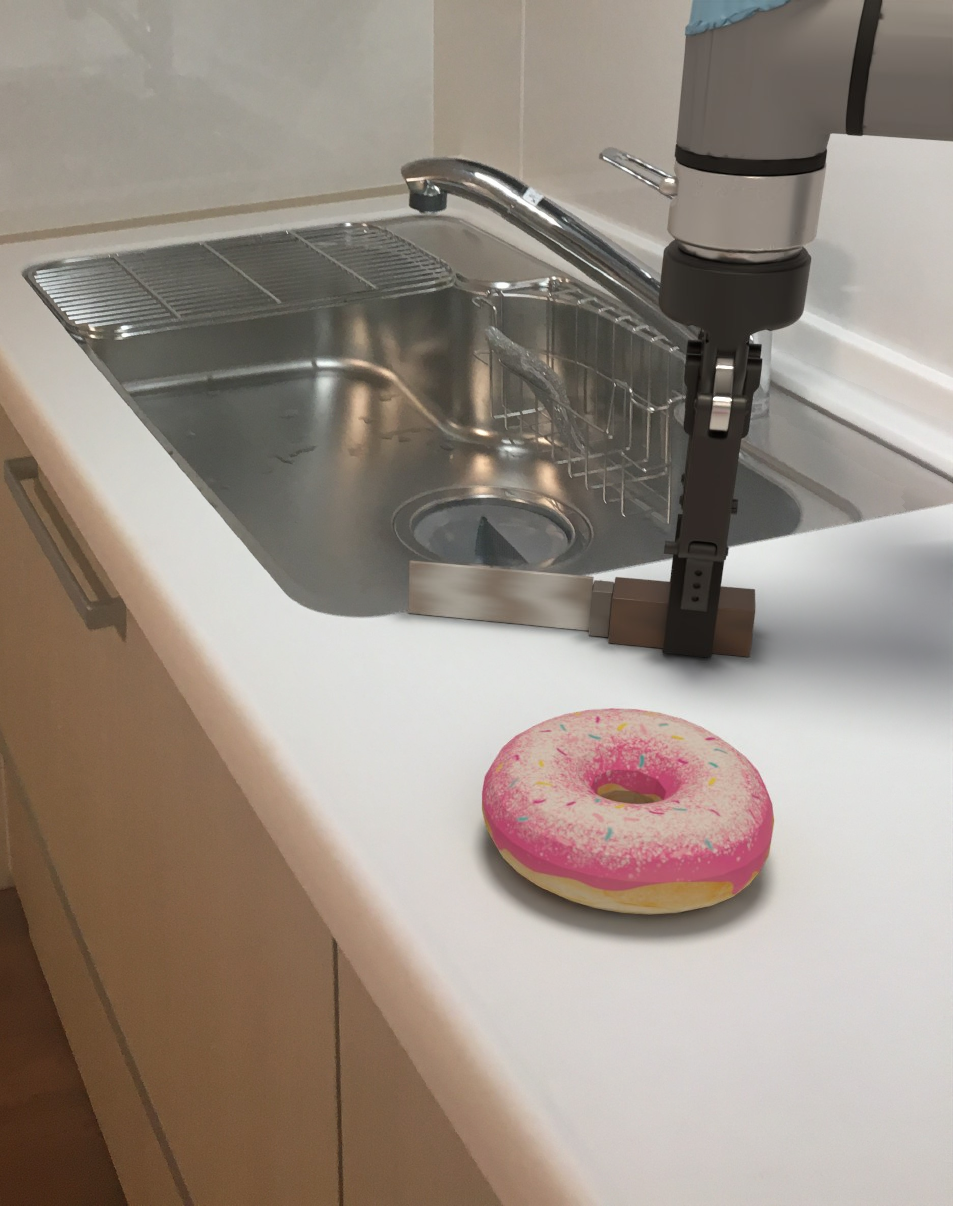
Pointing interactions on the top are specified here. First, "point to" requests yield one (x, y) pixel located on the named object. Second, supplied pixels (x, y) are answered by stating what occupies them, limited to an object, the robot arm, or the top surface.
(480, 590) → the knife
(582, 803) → the donut
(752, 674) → the top surface
